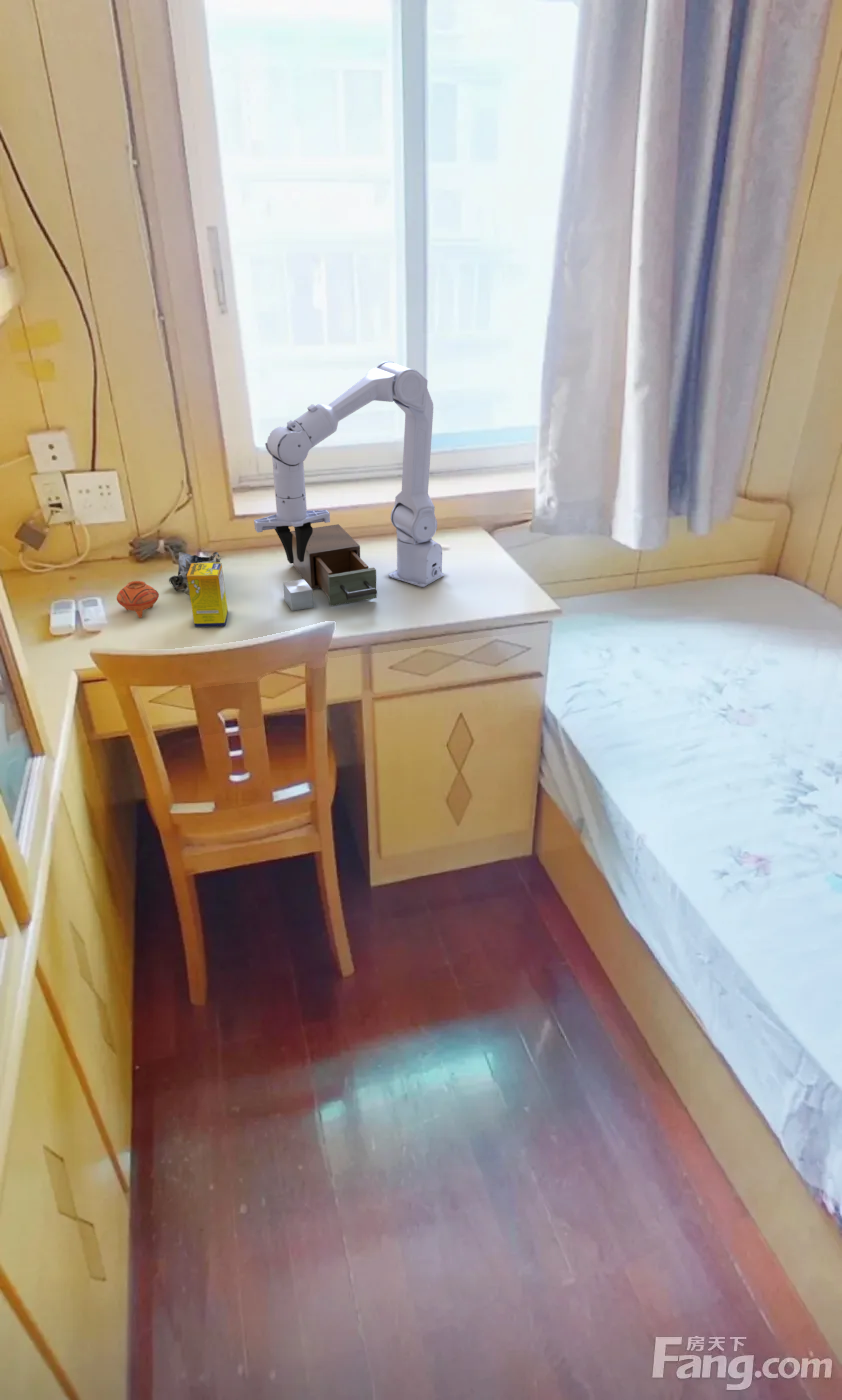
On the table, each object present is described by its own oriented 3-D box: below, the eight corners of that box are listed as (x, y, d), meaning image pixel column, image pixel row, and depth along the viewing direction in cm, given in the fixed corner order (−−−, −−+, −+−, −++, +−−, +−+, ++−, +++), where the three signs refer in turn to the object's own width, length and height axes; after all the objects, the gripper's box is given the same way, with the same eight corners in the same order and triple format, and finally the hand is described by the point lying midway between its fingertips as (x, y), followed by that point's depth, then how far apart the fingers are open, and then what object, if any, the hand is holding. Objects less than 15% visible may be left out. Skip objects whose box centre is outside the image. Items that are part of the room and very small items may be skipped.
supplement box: (198, 613, 165) (190, 562, 159) (228, 612, 166) (222, 561, 160) (193, 627, 160) (185, 575, 154) (225, 626, 161) (218, 574, 155)
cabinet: (361, 581, 179) (360, 545, 175) (311, 589, 175) (309, 553, 171) (340, 558, 189) (338, 524, 185) (293, 565, 186) (290, 531, 181)
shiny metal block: (313, 607, 168) (312, 589, 166) (292, 611, 167) (290, 593, 164) (305, 596, 172) (304, 578, 170) (284, 600, 171) (282, 582, 169)
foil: (236, 557, 181) (218, 543, 166) (232, 606, 181) (214, 597, 166) (182, 553, 181) (160, 539, 166) (179, 602, 181) (156, 593, 166)
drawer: (386, 608, 166) (386, 579, 163) (339, 617, 162) (338, 588, 159) (355, 574, 180) (354, 547, 176) (311, 582, 176) (309, 554, 173)
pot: (110, 619, 162) (107, 584, 160) (130, 610, 169) (127, 577, 167) (149, 621, 161) (146, 586, 159) (167, 612, 168) (164, 579, 166)
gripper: (258, 505, 151) (265, 574, 159) (333, 495, 156) (336, 562, 164) (248, 493, 157) (255, 560, 164) (321, 484, 162) (325, 549, 169)
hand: (295, 560), depth 164 cm, fingers closed
